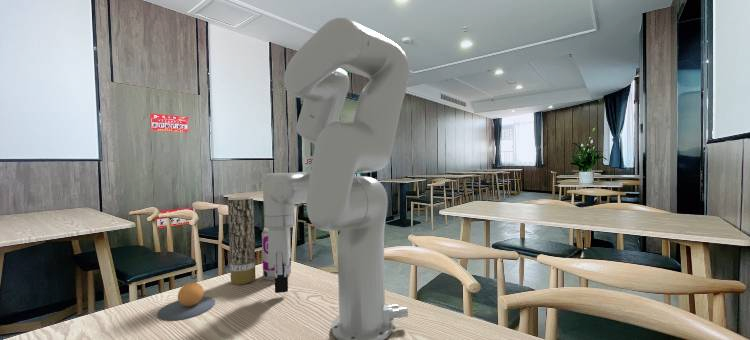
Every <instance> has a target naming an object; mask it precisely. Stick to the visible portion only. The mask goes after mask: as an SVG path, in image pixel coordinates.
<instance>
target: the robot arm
mask: <svg viewBox="0 0 750 340" xmlns="http://www.w3.org/2000/svg"><path fill="white" fill-rule="evenodd" d="M410 70H411V69H410V62H409V59H408V57H407V55H406V53H405V51H404V50H403V49H402V48H401V46H399V45H398V44H397V43H395V42H394V41H393V40H391V39H389V38H387V37H385V36H384V35H382V34H380V33H378V32H377V31H375V30H372V29H370V28H368V27H366V26H364V25H362V24H360V23H358V22H356V21H354V20H352V19H350V18H346V17H336V18H333V19H330V20H328V21H327V22H325V23H324V24H323V25H322V26H321V27H320V28H319V29H318V30H317V31H316V32H315V33H314V34H313V35H312V36H311V37H310V38H309V39H308V40H307V41H306V42H305V43H303V44H302V46H301V47H299V49H298V50H297V51H296V52H295V53H294V55H293V56H292V57H291V58H290V61H289V62H288V64H287V66H286V69H285V72H284V77H283V81H284V82H283V84H284V87H285V91H287V93H288V94H289V95H290V96H292V97H294V98H299V99H303V103H302V107H301V110H300V114H299V116H298V120H297V123H296V127H295V129H296V132H297V134H298V135H299V136H301V138H303V139H304V140H306V141H308V142H310V143H312V144H313V145H314V151H313V155H312V161H311V168H310V170H309V171H296V172H269V173H266V174H265V175H264V176H263V177H262V194H263V196H262V197H263V202H262V203H263V229H264V228H265V229H269V230H268V268H269V269H271V268H273V267H274V264H275V280H274V294H281V293H286V292H287V293H288V292H289V276H288V274H287V267H288V266H289V258H290V252H291V228H293V227H295V226H296V224H295V222H296V221H295V205H297V204H302V203H306V214H307V217H308V219H309V221H310V223H311V225H312V226H314V227H315V229H317V230H319V231H323V232H334V231H339V230H340V233H339V235H338V242H337V270H338V271H337V272H338V273H337V274H338V275H337V278H338V279H337V280H338V316H337V317H335V319H334V320H333V321H332V323H331V333H332V335H333V337H334V338H335V339H336V340H385V339H387V338H388V337H390V335H391V334H392V333H393V329H394V324H393V321H394V319H397V318H399V319H400V318H402V319H403V318H408V316H409V313H408V312H409V311H408V308H407V306H404V307H399V305H398V303H393V304H389V305H388V304H386V295H385V294H386V293H385V292H386V291H385V286H386V285H385V284H386V283H385V229H386V228H385V225H386V219H387V212H388V204H389V203H388V194H387V191H386V188H385V187H384V185H383V183H382V182H380V181H379V180H378V179H376V178H373V177H371V176H365V175H364V176H363V175H361V176H360V175H359V176H355V175H356V174H365V173H375V172H378V171H381V170H383V169H384V168H386V166H387V165H389V162H390V159H391V157H392V153H393V149H394V143H395V139H396V135H397V130H398V127H399V121H400V114H401V111H402V106H403V101H404V98H405V95H406V93H407V88H408V85H409V81H410V75H411V74H410V72H411V71H410ZM347 72H348V73H352V74H354V75H358V76H361V77H365V78H367V79H368V80H369V81H367V83H366V85H364V87H363V89H362V91H361V92H360V94H359V97H358V100H357V103H356V108H355V114H354V117H353V120H352V121H351V120H340V116H341V113H342V110H343V108H344V104H345V102H346V98H347V95H348V92H349V89H350V76H349V75H348V73H347Z"/></svg>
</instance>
